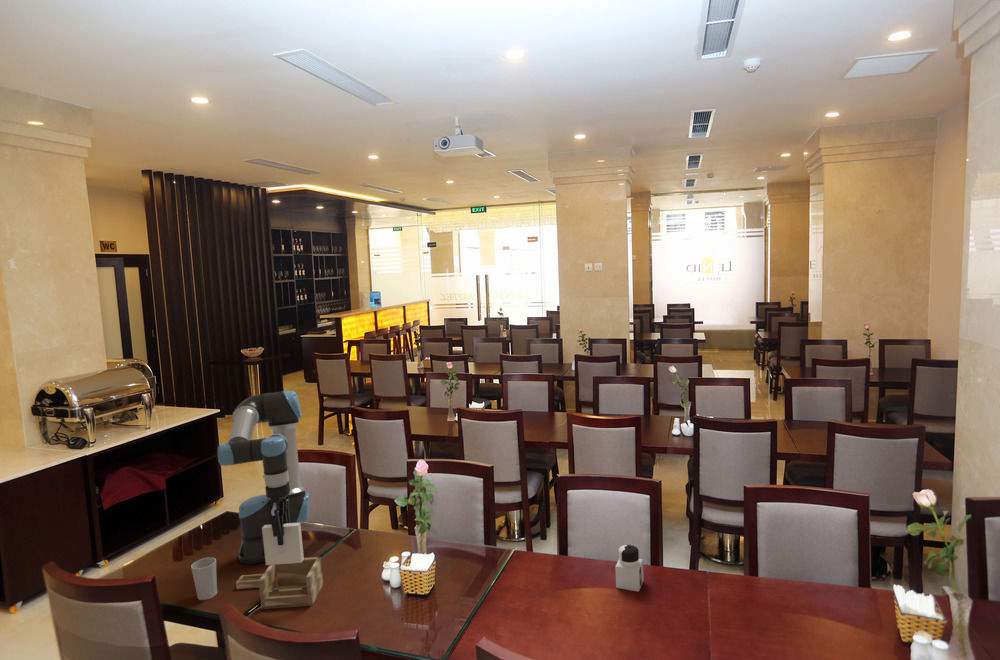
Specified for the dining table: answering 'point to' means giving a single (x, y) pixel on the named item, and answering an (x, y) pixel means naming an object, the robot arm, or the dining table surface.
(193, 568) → the cup
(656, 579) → the dining table surface
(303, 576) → the wooden box
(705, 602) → the dining table surface
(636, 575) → the container
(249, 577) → the small wooden tray
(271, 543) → the white square slab
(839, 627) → the dining table surface
